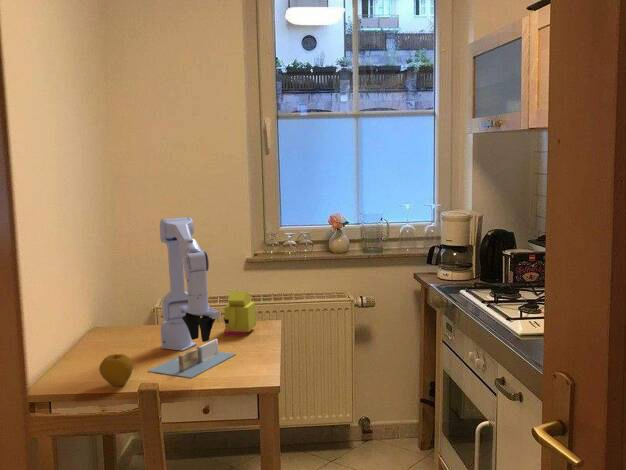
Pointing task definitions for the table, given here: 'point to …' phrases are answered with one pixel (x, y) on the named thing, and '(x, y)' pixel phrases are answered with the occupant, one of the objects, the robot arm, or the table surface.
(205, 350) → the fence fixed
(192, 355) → the fence panel
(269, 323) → the table surface
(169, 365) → the mat
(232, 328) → the toy
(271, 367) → the table surface
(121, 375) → the apple
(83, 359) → the table surface
